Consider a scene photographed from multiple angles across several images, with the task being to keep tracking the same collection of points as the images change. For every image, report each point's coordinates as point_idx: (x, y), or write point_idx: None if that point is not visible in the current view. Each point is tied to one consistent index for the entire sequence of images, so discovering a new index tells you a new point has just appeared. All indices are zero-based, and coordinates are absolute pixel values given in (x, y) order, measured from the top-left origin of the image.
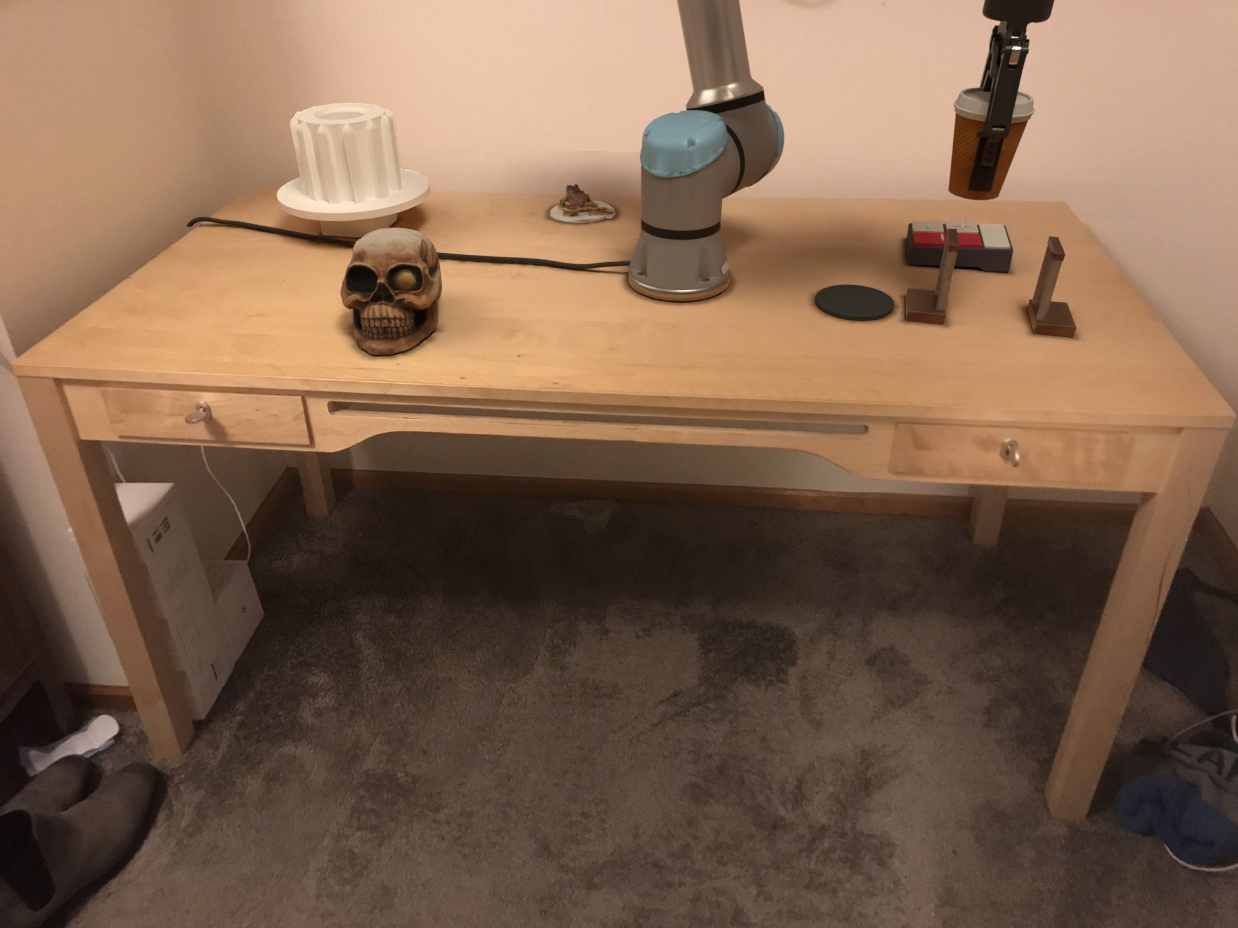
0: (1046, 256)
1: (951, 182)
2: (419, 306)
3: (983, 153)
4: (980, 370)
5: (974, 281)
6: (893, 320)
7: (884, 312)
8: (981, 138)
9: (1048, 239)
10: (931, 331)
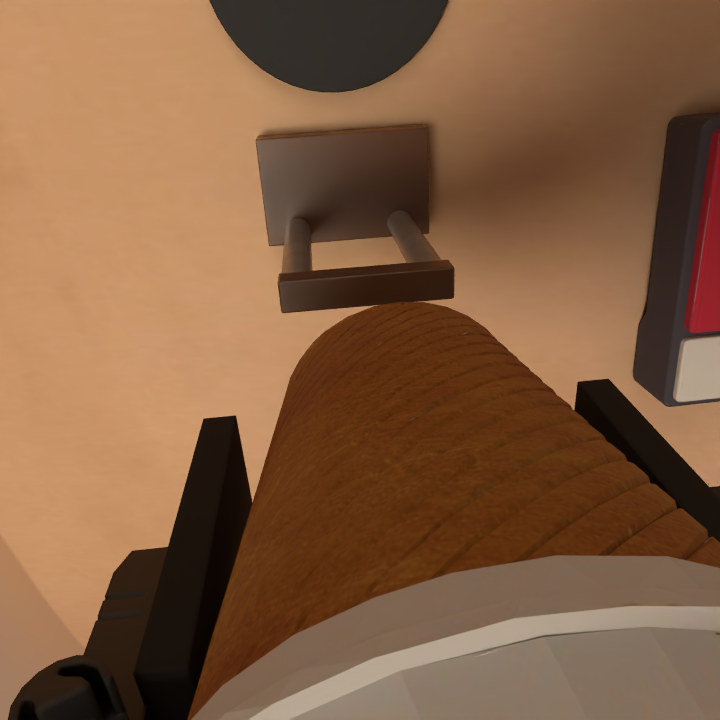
0: None
1: (360, 330)
2: None
3: (126, 610)
4: (50, 329)
5: (570, 304)
6: (249, 98)
7: (264, 65)
8: (142, 668)
9: None
10: (218, 209)
